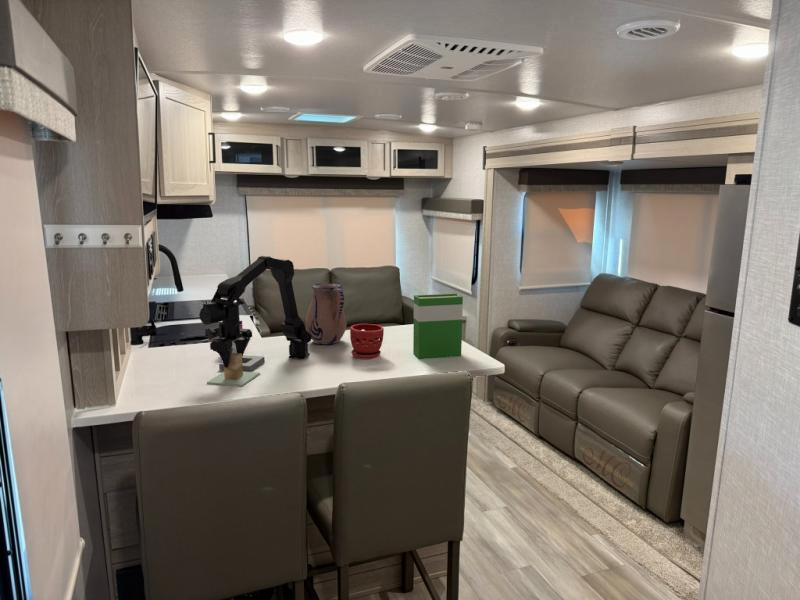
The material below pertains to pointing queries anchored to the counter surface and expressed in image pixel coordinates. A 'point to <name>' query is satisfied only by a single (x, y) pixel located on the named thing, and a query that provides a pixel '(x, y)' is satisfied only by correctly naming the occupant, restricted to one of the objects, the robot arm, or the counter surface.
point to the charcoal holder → (248, 363)
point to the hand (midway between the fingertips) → (233, 363)
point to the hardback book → (437, 326)
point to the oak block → (234, 367)
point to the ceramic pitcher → (326, 314)
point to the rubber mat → (239, 382)
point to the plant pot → (366, 340)
